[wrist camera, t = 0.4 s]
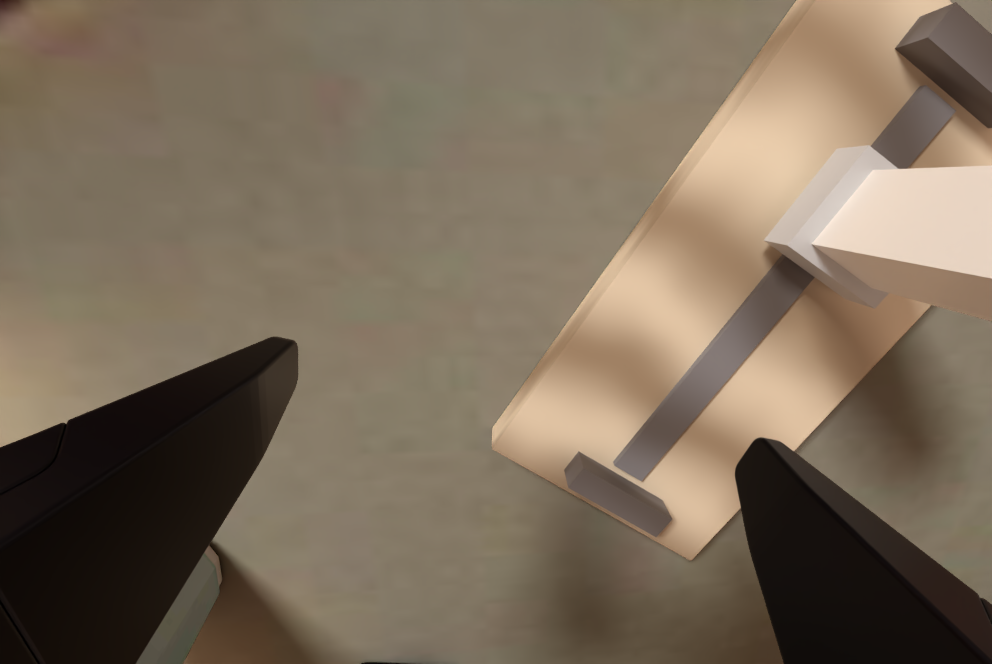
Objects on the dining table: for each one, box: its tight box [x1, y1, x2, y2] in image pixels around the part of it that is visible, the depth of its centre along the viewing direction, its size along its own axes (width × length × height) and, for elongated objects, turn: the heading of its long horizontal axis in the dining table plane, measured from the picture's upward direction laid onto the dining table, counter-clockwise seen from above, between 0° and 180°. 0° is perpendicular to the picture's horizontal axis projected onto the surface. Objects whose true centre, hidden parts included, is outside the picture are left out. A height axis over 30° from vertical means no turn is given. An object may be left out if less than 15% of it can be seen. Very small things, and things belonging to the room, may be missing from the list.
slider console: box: [492, 0, 992, 561], centre depth 20 cm, size 24×12×3 cm, turn 147°
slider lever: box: [764, 145, 992, 321], centre depth 13 cm, size 4×4×11 cm
